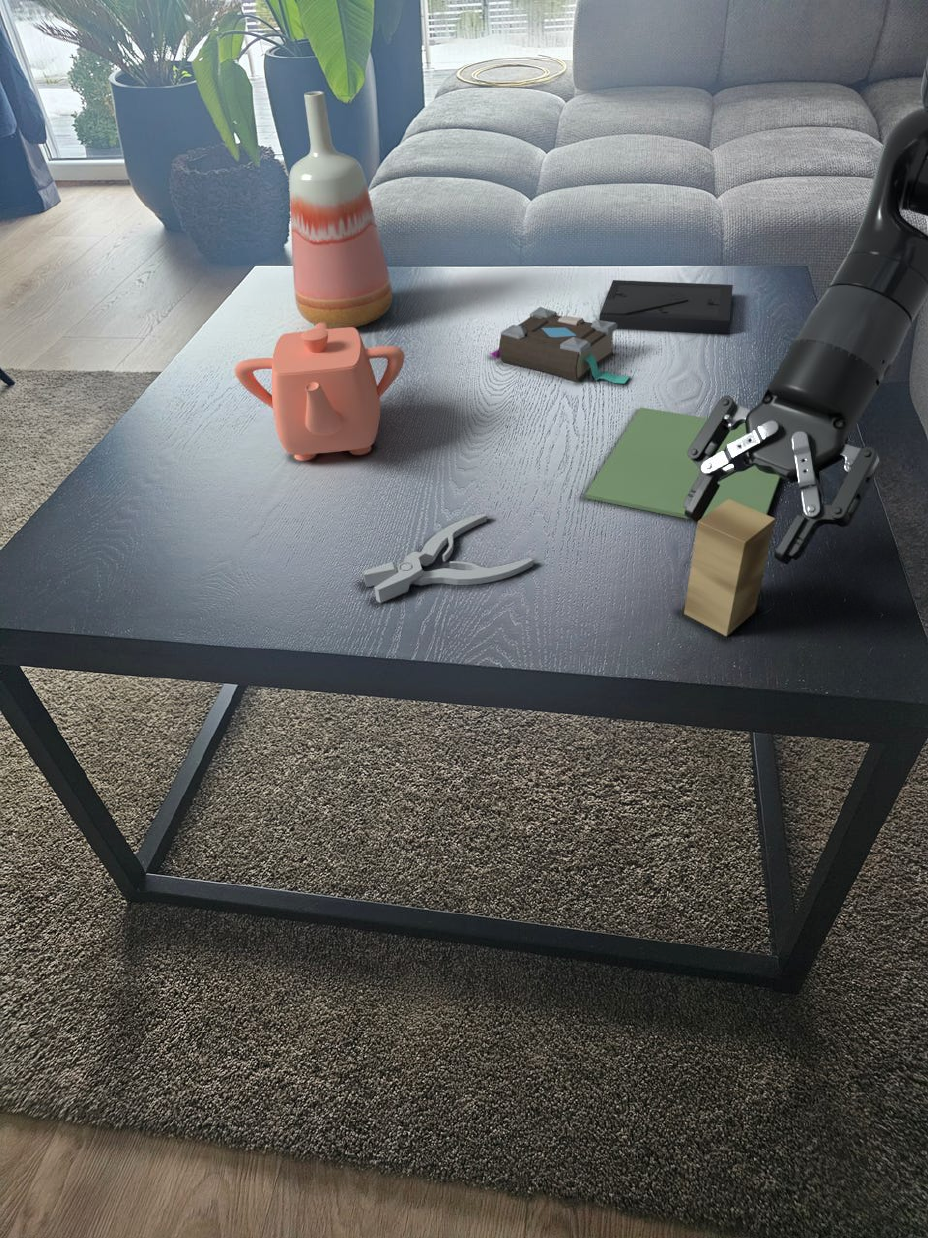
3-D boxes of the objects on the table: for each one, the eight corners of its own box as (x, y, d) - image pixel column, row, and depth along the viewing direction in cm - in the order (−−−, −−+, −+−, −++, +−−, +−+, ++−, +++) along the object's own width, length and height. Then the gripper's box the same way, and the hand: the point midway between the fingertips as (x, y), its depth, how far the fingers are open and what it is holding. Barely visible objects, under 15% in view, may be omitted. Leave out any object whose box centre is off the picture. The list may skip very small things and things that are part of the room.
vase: (317, 298, 137) (281, 83, 117) (404, 300, 134) (382, 80, 115) (286, 336, 126) (240, 106, 107) (380, 338, 124) (350, 104, 104)
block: (712, 590, 78) (728, 498, 71) (755, 611, 75) (775, 518, 69) (683, 613, 76) (697, 521, 69) (726, 636, 73) (745, 542, 67)
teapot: (331, 396, 111) (313, 295, 102) (426, 427, 103) (415, 321, 95) (234, 454, 101) (205, 348, 93) (331, 493, 94) (309, 381, 85)
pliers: (534, 553, 81) (391, 609, 76) (534, 567, 82) (393, 623, 77) (482, 504, 88) (348, 553, 83) (483, 517, 89) (350, 566, 84)
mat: (794, 436, 97) (796, 432, 97) (760, 534, 84) (761, 529, 83) (640, 411, 103) (640, 407, 103) (585, 498, 90) (585, 493, 90)
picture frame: (599, 327, 122) (727, 334, 118) (599, 312, 121) (730, 318, 117) (611, 292, 132) (731, 297, 128) (612, 277, 130) (733, 282, 126)
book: (658, 357, 114) (661, 320, 111) (613, 394, 107) (615, 356, 104) (532, 328, 124) (532, 293, 120) (483, 360, 116) (482, 324, 113)
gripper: (746, 315, 69) (647, 493, 71) (920, 365, 61) (802, 564, 63) (770, 355, 76) (678, 518, 78) (931, 405, 67) (823, 586, 69)
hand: (734, 539), depth 70 cm, fingers open, 8 cm apart
